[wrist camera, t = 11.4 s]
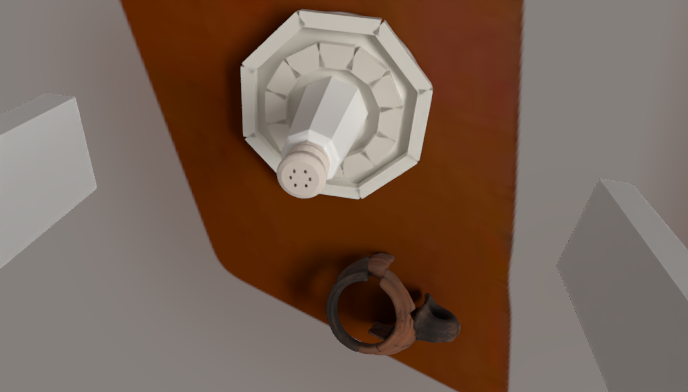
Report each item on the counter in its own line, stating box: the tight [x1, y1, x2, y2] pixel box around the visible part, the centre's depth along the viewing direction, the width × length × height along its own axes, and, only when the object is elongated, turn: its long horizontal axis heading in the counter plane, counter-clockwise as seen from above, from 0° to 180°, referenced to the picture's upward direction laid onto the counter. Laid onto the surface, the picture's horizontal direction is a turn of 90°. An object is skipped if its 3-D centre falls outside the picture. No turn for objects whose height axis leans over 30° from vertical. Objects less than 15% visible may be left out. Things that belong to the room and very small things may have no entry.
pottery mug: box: [326, 253, 461, 355], centre depth 40 cm, size 12×10×8 cm
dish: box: [241, 9, 433, 199], centre depth 33 cm, size 14×14×2 cm
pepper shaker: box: [277, 76, 368, 198], centre depth 29 cm, size 5×5×11 cm
